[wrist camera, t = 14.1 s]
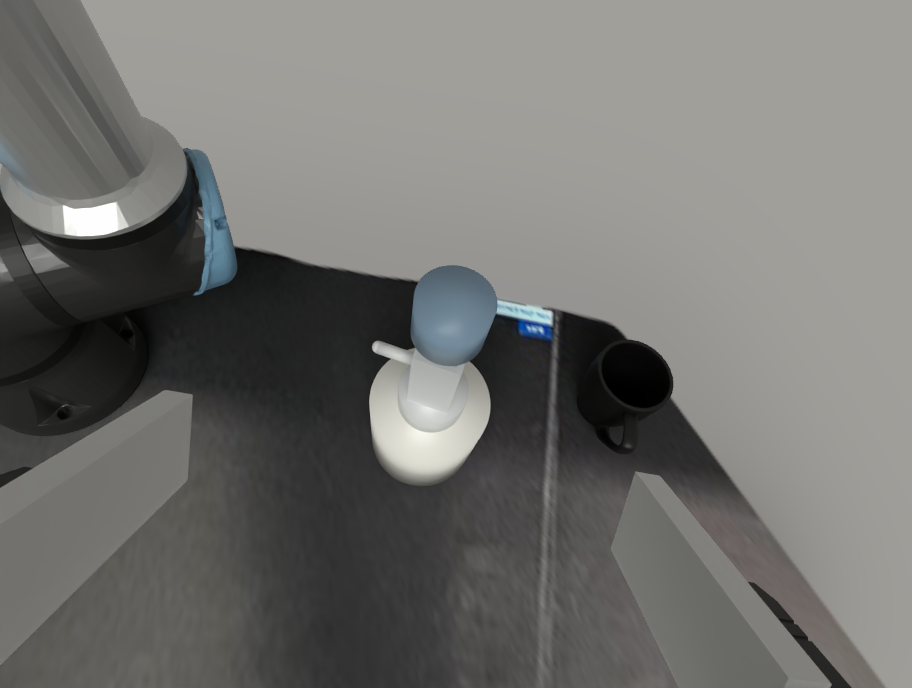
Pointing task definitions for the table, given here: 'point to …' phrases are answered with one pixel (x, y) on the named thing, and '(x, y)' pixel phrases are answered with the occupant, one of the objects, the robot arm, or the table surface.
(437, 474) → the bottle
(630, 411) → the mug
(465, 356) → the plunger
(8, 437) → the table surface
